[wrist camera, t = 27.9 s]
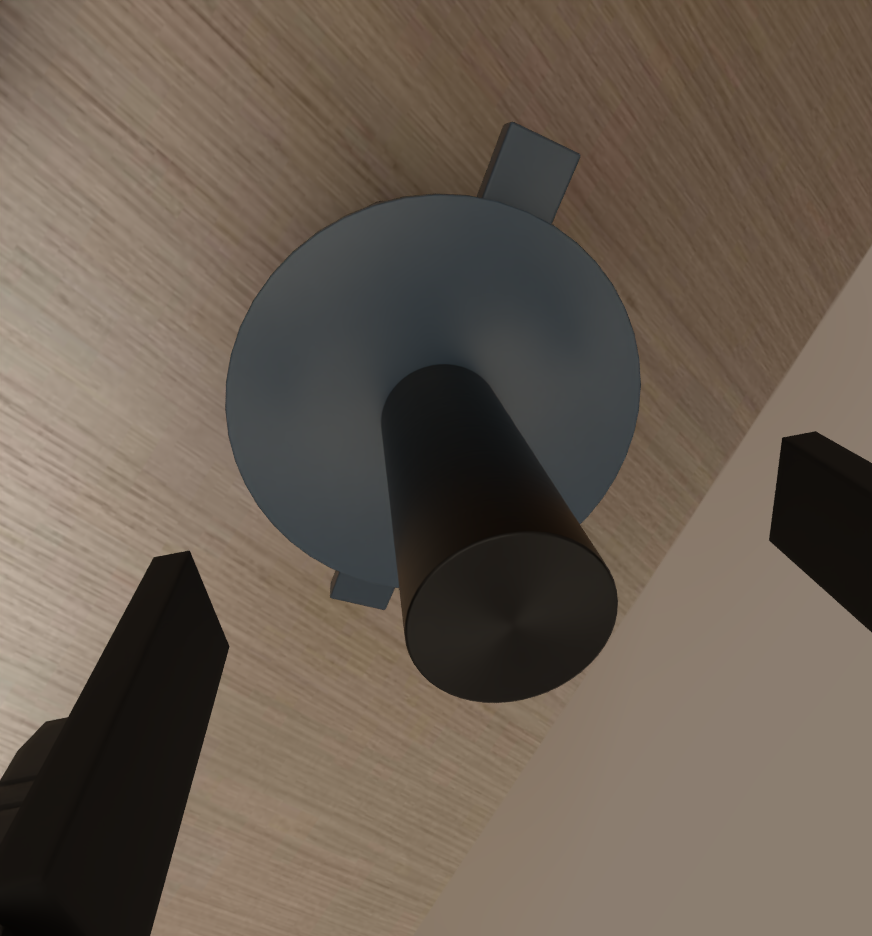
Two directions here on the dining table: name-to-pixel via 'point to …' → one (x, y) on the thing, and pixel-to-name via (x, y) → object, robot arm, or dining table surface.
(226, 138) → the dining table surface
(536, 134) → the pot
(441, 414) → the lid
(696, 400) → the dining table surface
